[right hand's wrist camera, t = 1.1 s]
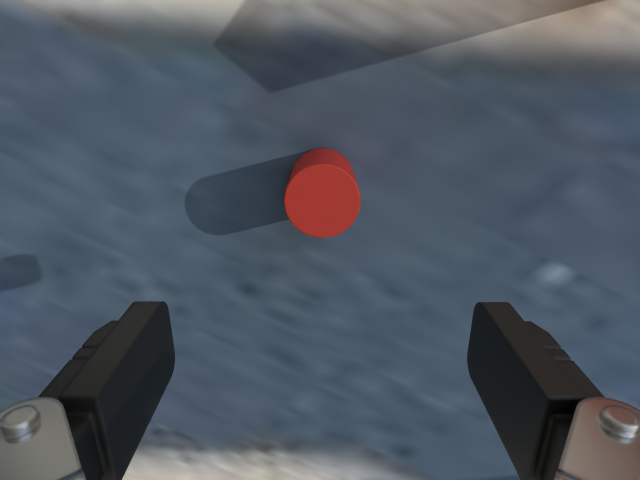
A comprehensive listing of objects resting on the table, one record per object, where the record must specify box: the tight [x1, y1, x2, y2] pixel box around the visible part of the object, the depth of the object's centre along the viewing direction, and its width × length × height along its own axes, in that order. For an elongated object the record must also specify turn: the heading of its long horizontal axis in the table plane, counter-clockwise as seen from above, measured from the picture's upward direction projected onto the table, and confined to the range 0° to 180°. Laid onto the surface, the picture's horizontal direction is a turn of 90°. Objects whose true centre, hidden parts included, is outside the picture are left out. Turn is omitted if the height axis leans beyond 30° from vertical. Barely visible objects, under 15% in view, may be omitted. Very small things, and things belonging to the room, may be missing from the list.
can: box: [284, 148, 361, 238], centre depth 25 cm, size 4×4×5 cm
